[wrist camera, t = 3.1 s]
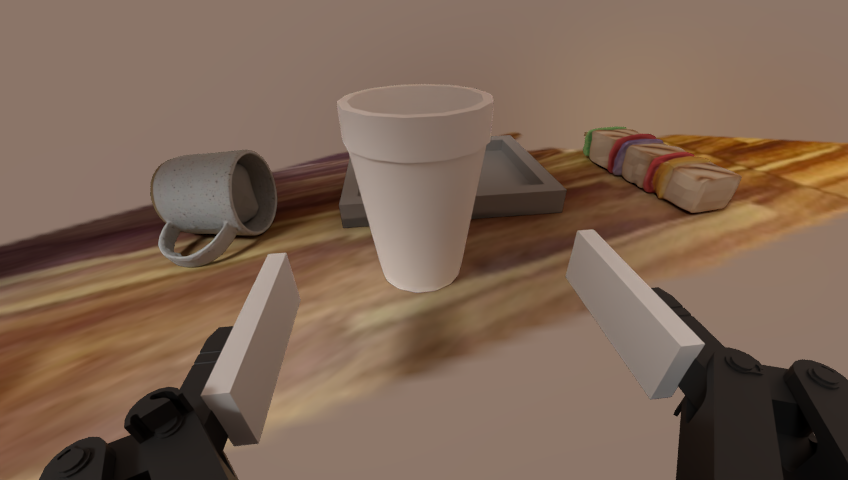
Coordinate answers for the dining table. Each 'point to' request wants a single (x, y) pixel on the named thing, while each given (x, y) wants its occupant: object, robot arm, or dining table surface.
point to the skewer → (662, 168)
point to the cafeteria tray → (485, 186)
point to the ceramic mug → (212, 200)
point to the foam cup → (418, 174)
